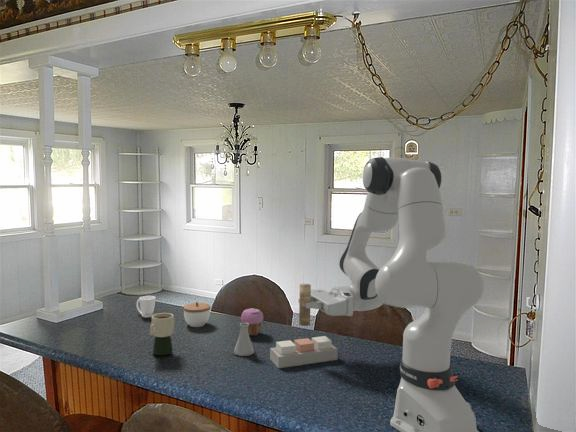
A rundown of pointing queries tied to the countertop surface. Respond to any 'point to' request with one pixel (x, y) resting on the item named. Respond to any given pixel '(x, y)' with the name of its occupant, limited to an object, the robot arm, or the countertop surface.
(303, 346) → the terracotta key
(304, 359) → the keypad bezel
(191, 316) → the lidded jar
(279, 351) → the ivory key
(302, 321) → the tan wooden cylinder
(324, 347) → the ivory key
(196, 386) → the countertop surface
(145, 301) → the cup
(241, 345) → the flask
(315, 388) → the countertop surface
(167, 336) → the character mug
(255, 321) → the cupcake
